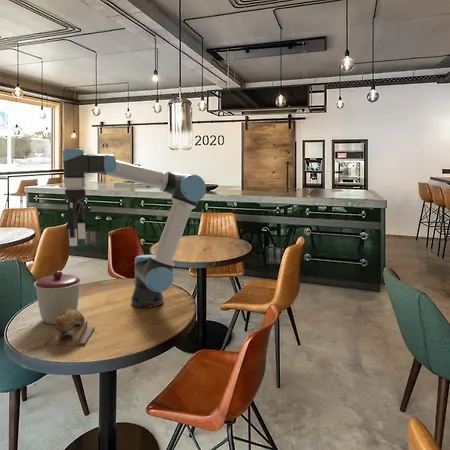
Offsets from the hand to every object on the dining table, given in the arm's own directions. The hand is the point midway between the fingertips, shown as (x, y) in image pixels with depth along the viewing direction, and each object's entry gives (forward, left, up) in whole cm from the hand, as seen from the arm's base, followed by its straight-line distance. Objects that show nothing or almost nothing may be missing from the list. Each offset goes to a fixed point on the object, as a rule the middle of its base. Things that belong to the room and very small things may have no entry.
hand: (77, 242), depth 155 cm
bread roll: (0, +13, -30) cm, 32 cm away
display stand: (0, +13, -34) cm, 36 cm away
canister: (+10, -4, -34) cm, 36 cm away
